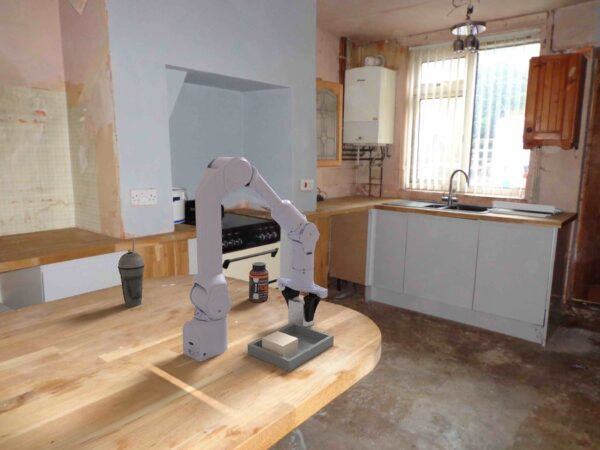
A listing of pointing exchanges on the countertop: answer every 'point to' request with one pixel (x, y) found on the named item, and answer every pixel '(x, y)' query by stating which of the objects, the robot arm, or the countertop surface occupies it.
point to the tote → (308, 346)
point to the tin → (298, 312)
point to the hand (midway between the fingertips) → (301, 318)
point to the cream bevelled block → (281, 344)
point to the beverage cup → (131, 277)
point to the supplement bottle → (258, 282)
